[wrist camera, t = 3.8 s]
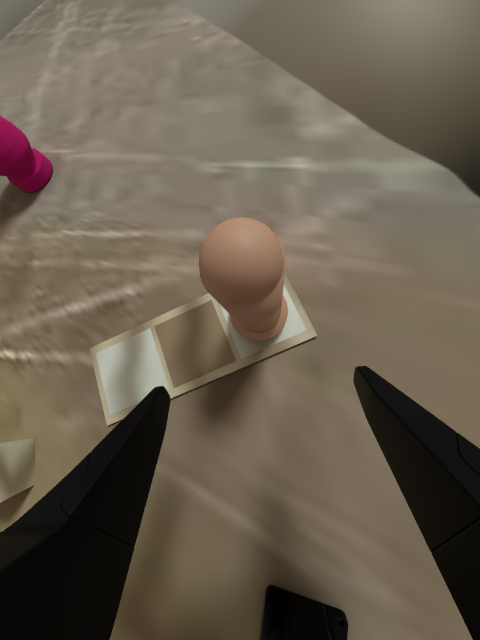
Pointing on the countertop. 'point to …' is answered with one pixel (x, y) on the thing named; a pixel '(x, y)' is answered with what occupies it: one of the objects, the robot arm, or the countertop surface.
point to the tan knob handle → (246, 276)
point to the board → (185, 352)
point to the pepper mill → (21, 159)
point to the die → (16, 467)
